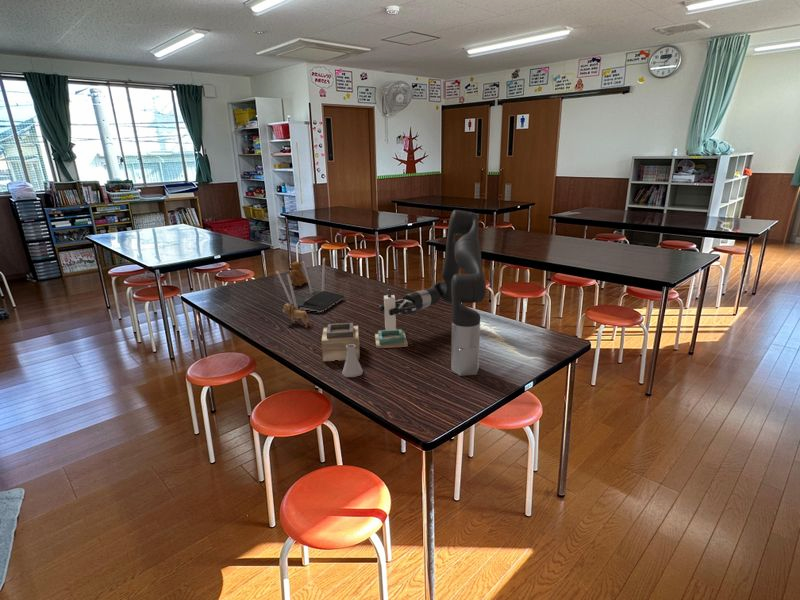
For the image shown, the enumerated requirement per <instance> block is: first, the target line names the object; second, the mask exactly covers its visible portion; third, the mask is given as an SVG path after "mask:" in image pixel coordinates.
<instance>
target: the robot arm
mask: <svg viewBox="0 0 800 600" xmlns="http://www.w3.org/2000/svg"><path fill="white" fill-rule="evenodd" d="M447 227H448V228H447V236H446V245H445V255H444V261H443V266H442V269H441V276H440V277H441V279H442V280H443V281H442V280H441V281H438V282H436V283H434V284H433V285H432V286H430V287H429V288H426V289H421V290H417V291H413V292H410V293H406V294H404V296H403V298H400V299H397V300H396V299H395V308H394V309H390V310H389V315H394V314H396V315H400V314H401V315H408V314H412V313H416V312H417V311H420V310H423V309H426V308H428V307H430V306H433V305H436V304H438V303H439V302H440V300H442V301H444V302H445V303H448V304H451V342H450V343H451V344H450V345H451V351H450V352H451V356H450V357H451V364H450V366H451V367H450V369H451V371H452V372H453V373H455V374H457V375H458V376H459V377H461V376H463V377H465V376H477V375H478V372H479V368H480V367H479V366H480V338H481V336H480V335H481V332H480V331H481V315H480V312H478V311H477V310H475V309H471V308H469V307H467V306H465V305H464V304H468V303H470V304H471V303H472V304H475V303H476V304H477V303H481V302H482V303H483V302H484V300H485V298H486V295H487V283H486V279H485V276H484V270H483V266H482V252H481V251H482V249H481V244H480V238H479V216H478V214H477V213H475V212H473V211H468V210H467V211H466V210H460V209H454V210H453V211H452V212H451V214H450V218H449V222H448V226H447ZM456 235H459V236H460V235H461V237H459V239H458V240H456V239H455V238H456ZM460 270H462V271H463V272H465V273H460ZM378 309H379V311H378V312H381V313H382V312H385V310H384V304H381V305H379V307H378Z"/></svg>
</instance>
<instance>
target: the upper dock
mask: <svg viewBox="0 0 800 600" xmlns="http://www.w3.org/2000/svg"><path fill="white" fill-rule="evenodd" d="M359 333H360V331H359V325H354V322H341V323H340V322H339V323H338V322H337V323H328V324H327V327H325V326H324V327H323V330H322V335H321V351H322V362H333V361H335V360H338V361H346V358H347V348H346V345H349V344H354V345H356V346H355V353H356V357H357V359H358V360H360V358H361V357H360V337H359V336H360V334H359ZM335 362H336V361H335Z"/></svg>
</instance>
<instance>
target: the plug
mask: <svg viewBox="0 0 800 600" xmlns="http://www.w3.org/2000/svg"><path fill="white" fill-rule="evenodd" d="M386 292H387V294H386V295H383V305H384V310H385V311H384V328H385V330H386V331H389V330H396V329H397V319H396V318H397V317H396V315H397V314H394V315H389V310H390V309H394V308H395V300H396V297H395V294H392V288H388V289H387V290H386Z"/></svg>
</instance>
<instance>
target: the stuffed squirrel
mask: <svg viewBox="0 0 800 600" xmlns="http://www.w3.org/2000/svg"><path fill="white" fill-rule="evenodd" d="M289 266H290V267H291V268H292V270H290V272H289V273H288V274H289V275H290V279H291V283H292V284H293V285H292V286H293V287H296V286H300V287H302V286H303V285H302V284H304V283H307V282H308V281H307V277H306V275H305V272H304V271H303V270H302V261H301V262H299V261H294V262H292V263H289ZM307 284H308V283H307ZM301 285H302V286H301ZM304 285H305V284H304Z"/></svg>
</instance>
